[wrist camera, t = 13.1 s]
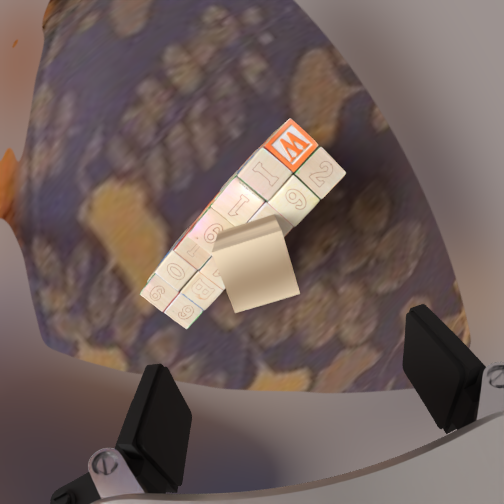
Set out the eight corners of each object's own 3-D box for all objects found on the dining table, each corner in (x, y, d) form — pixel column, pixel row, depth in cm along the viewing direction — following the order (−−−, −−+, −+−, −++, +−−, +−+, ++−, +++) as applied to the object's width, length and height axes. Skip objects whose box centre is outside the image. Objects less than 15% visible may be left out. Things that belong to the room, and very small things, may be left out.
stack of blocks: (197, 291, 38) (180, 347, 27) (160, 261, 37) (126, 308, 25) (314, 166, 34) (349, 173, 22) (274, 129, 32) (291, 116, 20)
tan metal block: (218, 232, 23) (211, 252, 18) (273, 214, 23) (281, 230, 18) (236, 282, 25) (235, 312, 20) (289, 266, 24) (299, 293, 19)
